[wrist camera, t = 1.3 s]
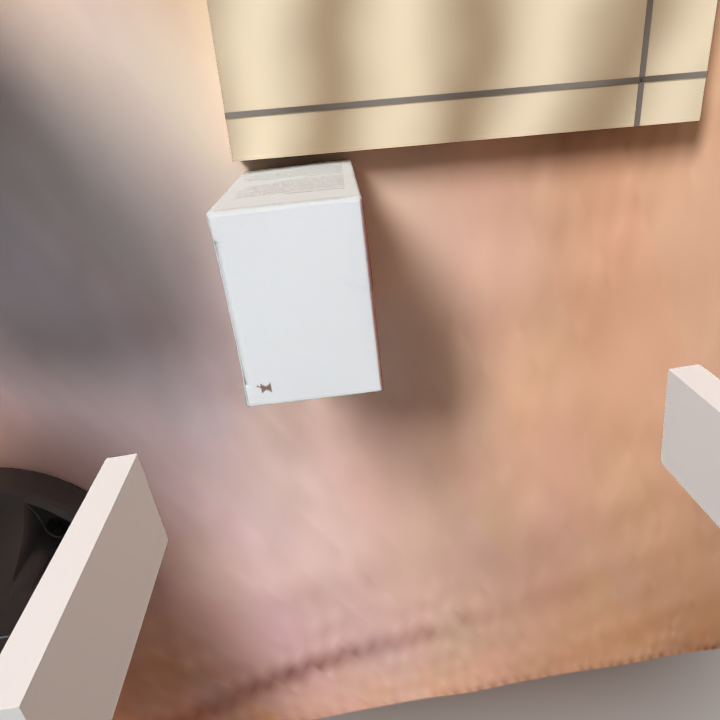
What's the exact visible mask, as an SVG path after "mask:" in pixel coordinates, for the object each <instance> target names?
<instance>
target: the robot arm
mask: <svg viewBox="0 0 720 720" xmlns="http://www.w3.org/2000/svg"><path fill="white" fill-rule="evenodd" d="M661 463H662V464H663V465H664V466H665V467H666V469H667V470H668V471H669V472H670V473H671V474H672V475H673V476H674V478H675V479H676V480H677V481H678V482H679V483H680V484H681V485H682V486H683V488H684V489H685V490H686V491H687V492H688V493H689V494H690V495H691V497H692V498H693V499H694V500H695V501H696V502H697V503H698V504H699V506H700V507H701V508H702V509H703V510H704V511H705V512H706V513H707V515H708V516H709V517H710V518H711V519H712V520H713V521H714V522H715V523H716V525H717V526H718V527H719V528H720V380H719V379H718V378H717V377H716V376H714V375H713V374H712V373H710V372H709V371H708V370H706V369H705V368H704V367H702V366H701V365H700V364H698V365H692V366H685V367H679V368H673V369H668V379H667V391H666V404H665V416H664V428H663V440H662V452H661ZM167 543H168V537H167V535H166V532H165V529H164V526H163V524H162V521H161V518H160V515H159V512H158V510H157V507H156V504H155V501H154V498H153V496H152V493H151V490H150V487H149V484H148V482H147V479H146V476H145V473H144V470H143V468H142V465H141V462H140V459H139V457H138V454H130V455H124V456H118V457H111V458H106V460H105V462H104V464H103V465H102V467H101V469H100V471H99V473H98V475H97V477H96V478H95V480H94V482H93V484H92V486H91V488H90V489H89V491H88V493H86V492H85V491H83V490H81V489H79V488H78V487H76V486H74V485H71V484H69V483H67V482H65V481H62V480H60V479H57V478H54V477H51V476H48V475H45V474H41V473H37V472H33V471H27V470H21V469H13V468H0V720H112V718H113V715H114V712H115V709H116V706H117V702H118V699H119V696H120V693H121V690H122V686H123V683H124V680H125V677H126V674H127V671H128V667H129V664H130V661H131V658H132V655H133V651H134V648H135V645H136V642H137V639H138V635H139V632H140V629H141V626H142V623H143V620H144V616H145V613H146V610H147V607H148V604H149V600H150V597H151V594H152V591H153V588H154V584H155V581H156V578H157V575H158V572H159V569H160V565H161V562H162V559H163V556H164V553H165V549H166V546H167Z"/></svg>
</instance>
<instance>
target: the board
mask: <svg viewBox="0 0 720 720" xmlns="http://www.w3.org/2000/svg"><path fill="white" fill-rule="evenodd" d="M717 1H718V0H207V5H208V11H209V17H210V24H211V30H212V36H213V42H214V49H215V55H216V61H217V67H218V73H219V80H220V86H221V92H222V98H223V105H224V111H225V118H226V123H227V130H228V136H229V142H230V148H231V155H232V161H245V160H256V159H268V158H279V157H290V156H302V155H313V154H325V153H336V152H347V151H359V150H370V149H382V148H393V147H404V146H416V145H427V144H439V143H450V142H461V141H473V140H484V139H496V138H507V137H518V136H530V135H541V134H553V133H564V132H575V131H587V130H598V129H610V128H621V127H632V126H644V125H655V124H667V123H678V122H689V121H700V114H701V107H702V101H703V94H704V87H705V81H706V77H707V72H708V71H707V67H708V61H709V54H710V47H711V41H712V34H713V27H714V21H715V14H716V7H717Z"/></svg>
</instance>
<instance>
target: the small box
mask: <svg viewBox="0 0 720 720" xmlns="http://www.w3.org/2000/svg"><path fill="white" fill-rule="evenodd" d="M206 218H207V222H208V225H209V229H210V233H211V236H212V240H213V243H214V247H215V251H216V255H217V260H218V264H219V268H220V272H221V277H222V282H223V286H224V291H225V296H226V300H227V305H228V309H229V314H230V318H231V323H232V328H233V332H234V337H235V342H236V347H237V352H238V356H239V361H240V367H241V372H242V378H243V384H244V391H245V397H246V404H247V406H249V407H251V406H259V405H268V404H277V403H286V402H294V401H302V400H311V399H319V398H327V397H336V396H344V395H353V394H360V393H367V392H375V391H381V390H382V389H383V382H382V373H381V363H380V353H379V343H378V333H377V322H376V311H375V301H374V291H373V282H372V273H371V264H370V256H369V248H368V240H367V232H366V224H365V217H364V209H363V200H362V196H361V193H360V189H359V186H358V182H357V180H356V176H355V172H354V169H353V166H352V162H351V160H349V159H348V160H337V161H327V162H318V163H310V164H302V165H294V166H285V167H277V168H268V169H261V170H254V171H246V172H244V173H243V174H242V175H241V176H240V177H239V179H238V180H237V181H236V182H235V183H234V184H233V185H232V186H231V187H230V188H229V189H228V190H227V191H226V193H225V194H224V195H223V196H222V197H221V198H220V199H219V200H218V201H217V202H216V204H215V205H214V206H213V207H212V208H211V209H210V210H209V211H208V212H207V214H206Z"/></svg>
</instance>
